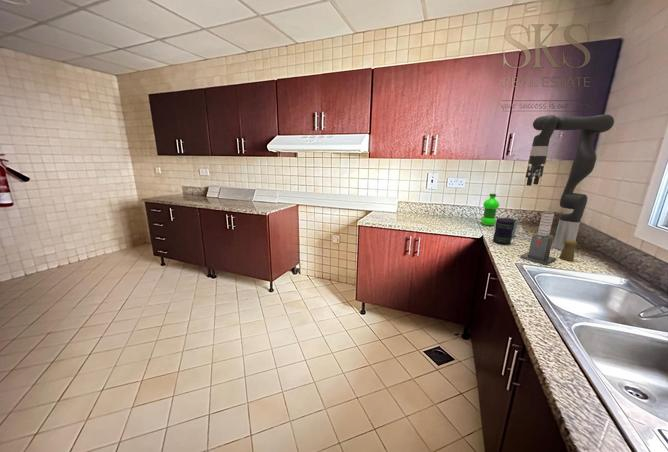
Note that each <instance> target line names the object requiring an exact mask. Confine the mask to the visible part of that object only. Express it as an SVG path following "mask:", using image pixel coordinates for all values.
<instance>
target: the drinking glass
mask: <svg viewBox="0 0 668 452" xmlns="http://www.w3.org/2000/svg"><path fill="white" fill-rule="evenodd" d="M504 218H505V219H511V220H514V221H515V223H514V229H513V231H512V239H513V238H514V237H515V234H516V231H517V228H518V225H519V219H516V218H513V217H504Z"/></svg>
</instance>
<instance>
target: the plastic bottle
mask: <svg viewBox="0 0 668 452" xmlns="http://www.w3.org/2000/svg"><path fill="white" fill-rule="evenodd" d="M496 197H497V193H489V198H488V199H485V201H484V202H483V207H484V210H483V211H484V213H483V217H482V218H481V221H480V222H481V223H482V224H483V225H484V226H486V225H492V226H494V224H495V225H496V221H497V218H496V214H497V209H499V207H500V202H499V201H498V200H497V199H496Z"/></svg>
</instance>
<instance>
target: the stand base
mask: <svg viewBox="0 0 668 452" xmlns="http://www.w3.org/2000/svg"><path fill="white" fill-rule="evenodd" d="M554 239H555V235H550V234H549V237H543V236H538V232H537V233H534V234H532V236H531V240H530V245H529V249H528V252H526V253H523V254H521V255H520V256H519V259H522V260H525V261H529V262H532V263H535V264H540V265H543V266H548V265H551V264H552V262H553V263H554V262H556V260H557V257H554V256H550V254H551V250H552V247H553V243H554ZM550 263H551V264H550Z"/></svg>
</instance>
